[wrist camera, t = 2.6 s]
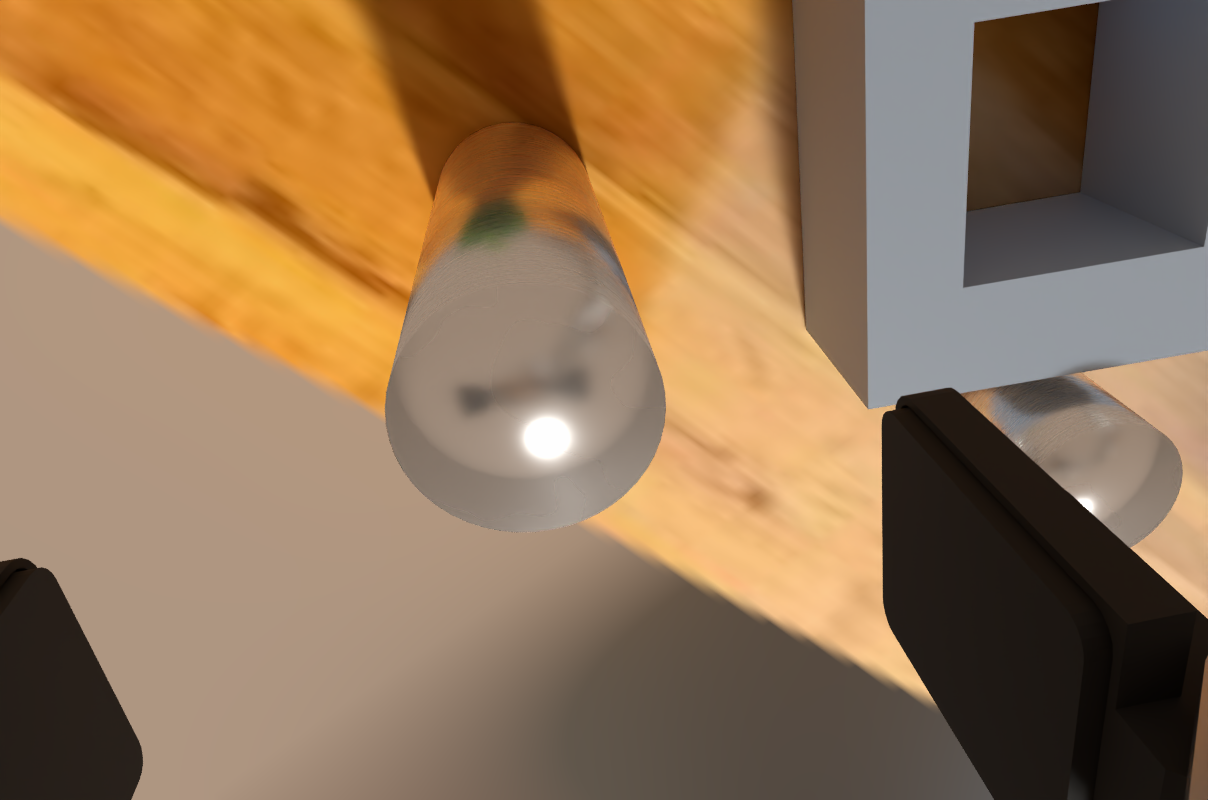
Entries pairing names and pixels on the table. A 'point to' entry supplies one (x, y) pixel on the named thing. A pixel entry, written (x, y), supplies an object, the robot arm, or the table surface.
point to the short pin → (1090, 448)
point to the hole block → (1003, 233)
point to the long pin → (521, 344)
